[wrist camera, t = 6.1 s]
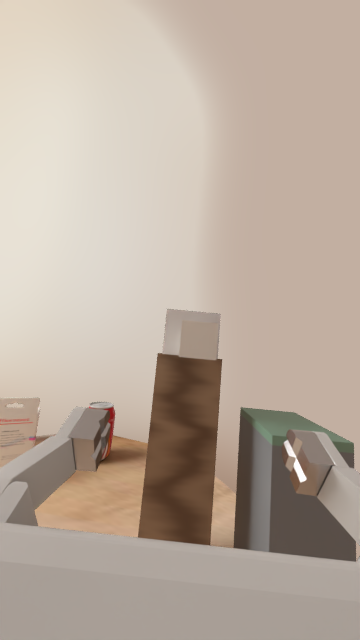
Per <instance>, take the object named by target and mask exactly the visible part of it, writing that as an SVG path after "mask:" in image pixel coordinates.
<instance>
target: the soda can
mask: <svg viewBox="0 0 360 640" xmlns="http://www.w3.org/2000/svg"><path fill="white" fill-rule="evenodd" d="M89 406H90V407H89V408H93V409H101V410H108V411H110V419H109V421H108V422H109V423H110V426H111V429H110V436H109V440H108V443H107V446H106V447H105V448H104V449H103V450H102V458H101V460H103V459H104V458H106V457H107V456H108V455H109V453H110V449H111V443H112V436H113V428H114V420H115V410H114V408H113V406H114V405H113V404H112V403H108V402H94V403H91V404H90V405H89Z"/></svg>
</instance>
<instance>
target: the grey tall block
mask: <svg viewBox="0 0 360 640" xmlns="http://www.w3.org/2000/svg"><path fill="white" fill-rule="evenodd" d="M289 429H293V430H304V431H314V432H324V433H325V434H327V435H328V437H329V438H330V440H331V441H332V443H333V444H334V446H335V447H336V449H337V450H338V452H339V453H340V454H341V456H342V457H343V459H344V460H345V462H346V463H347V465H348V466H349V468H354V444H353V443H352V442H350V441H348V440H346V439H344V438H343V437H340V436H338V435H337V434H335V433H333V432H331V431H329V430H327V429H325V428H323V427H321V426H319V425H317V424H315V423H313V422H311V421H310V420H308V419H306V418H304V417H302V416H300V415H298V414H296V413H293V412H282V411H272V410H262V409H252V408H241V413H240V433H239V453H238V472H237V492H236V511H235V531H234V548H237V549H246V550H255V551H264V552H273V553H282V554H290V555H299V556H308V557H317V558H326V559H335V560H344V561H353V562H356V541H355V540H354V539H353V538H352V536H351V535H350V534H349V533H348V532H347V531H346V530H345V528H344V527H343V526H342V525H341V524H340V523H339V522H338V521H337V519H336V518H335V517H334V516H333V515H332V514H331V513H330V511H329V510H328V509H327V508H326V507H325V506H324V505H323V504H322V502H321V501H320V500H319V499H318V498H317V496H312V495H305V494H298V493H296V491H295V489H294V487H293V484H292V482H291V479H290V477H289V476H290V473H291V471H290V470H289V469H288V468H287V467H286V466H285V464H284V462H283V458H282V446H283V443H284V442H285V441H286V440H288V439H287V436H286V434H287V431H288V430H289Z"/></svg>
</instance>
